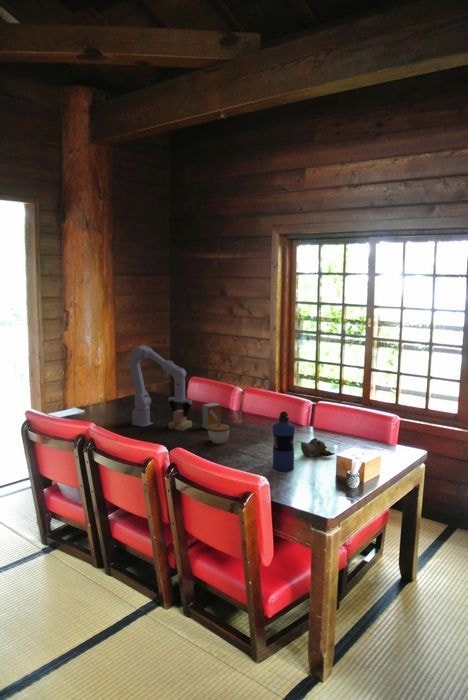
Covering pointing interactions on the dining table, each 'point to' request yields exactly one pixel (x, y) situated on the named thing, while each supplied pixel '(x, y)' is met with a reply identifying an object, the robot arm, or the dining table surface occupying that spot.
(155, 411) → the dining table surface
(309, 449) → the ceramic sculpture
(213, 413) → the small box
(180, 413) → the terracotta block
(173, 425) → the maple base block
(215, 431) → the lidded jar
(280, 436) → the water bottle
